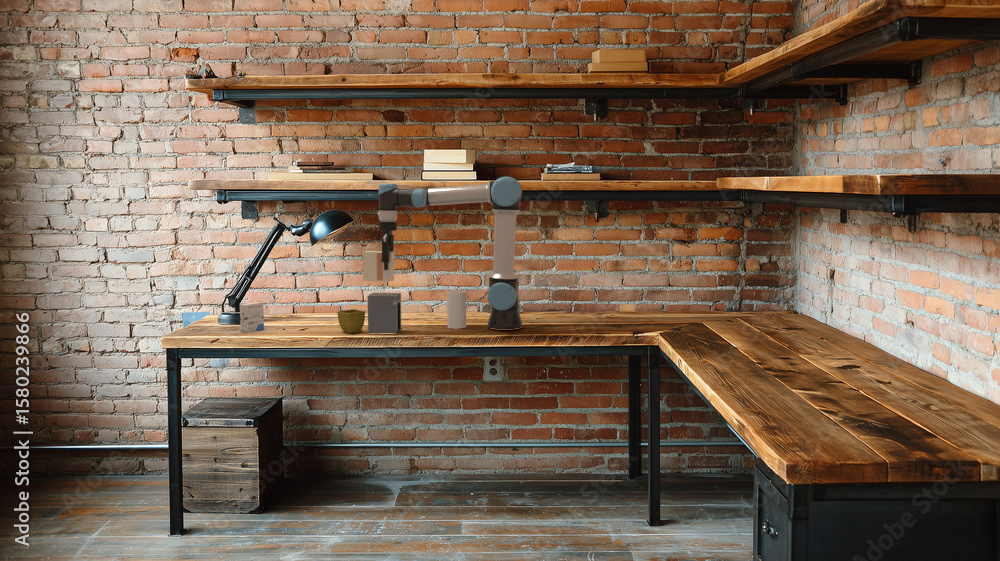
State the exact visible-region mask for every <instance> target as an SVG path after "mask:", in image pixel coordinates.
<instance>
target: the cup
mask: <svg viewBox="0 0 1000 561" xmlns="http://www.w3.org/2000/svg"><path fill="white" fill-rule="evenodd" d="M446 315H447V316H446V317H447V318H446V319H447V320H446V322H447V324H446V326H447V327H448V328H455V329H454V330H458V329H457V328H465V327H466V328H467V291H466V290H462V289H461V290H460V289H451V290H447V291H446ZM448 328H447V329H448ZM466 328H465V329H466Z"/></svg>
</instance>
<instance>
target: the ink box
mask: <svg viewBox="0 0 1000 561" xmlns="http://www.w3.org/2000/svg"><path fill="white" fill-rule="evenodd" d="M239 318H240V320H239V321H240V323H239V324H240V332H243V333H252V332H257V331H264V330H265V319H264V318H265V316H264V303H263V302H259V301H254V302H246V303H239Z"/></svg>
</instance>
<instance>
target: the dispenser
mask: <svg viewBox="0 0 1000 561" xmlns="http://www.w3.org/2000/svg"><path fill="white" fill-rule="evenodd" d="M398 330H401V331H402V293H401V292H372V293H370V294H368V295H367V331H368V332H367V334H368V333H396V334H395V335H398V334H399V333H398V332H399V331H398ZM397 333H398V334H397Z"/></svg>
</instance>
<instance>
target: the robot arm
mask: <svg viewBox="0 0 1000 561" xmlns="http://www.w3.org/2000/svg"><path fill="white" fill-rule="evenodd" d="M522 194H523V188H522V185H521V183H520V181H518V180H517V179H516V178H514V177H511V176H501V177H499V178H497V179H496V180H491V181H490V180H489V181H488V182H487V183H482V184H468V185H466V184H465V185H455V186H440V187H428V188H427V187H426V188H424V187H423V188H399V187H398V184H397V183H384V182H383V183H380V184H379V186H378V194H377V195H378V196H377V197H378V212H377V215H378V220H379V221H378V231H381V232H382V231H383V234H382V235H381V251H382V260H381V262H383V278H390V262H389V255H390V252H394V253H395V251H394V250H395V249H394V245H395V244H394V242H395V241H394V240H395V236H394V235H393V232H395V231H398V222H397V220H398V208H400V207H404V208H405V207H406V208H424V207H430V206H442V205H443V206H445V205H446V206H447V205H457V204H458V205H459V204H475V203H489V204H490V205H491V211H492V212H493V213H494V235H493V236H494V238H493V239H494V240H493V263H492V264H493V265H492V266H493V267H492V273H491V274H489V277H488V290H487V293H486V298H487V302H488V303H489V305H490V306H491V312H490V315H489V318H488V321H487V328H488V327H490V328H495V329H515V328H520V327H522V328H523V320H522V317H521V314H520V312H519V297H520V296H519V290H520V289H519V286H520V281H519V276H517V275H516V274H515V251H516V231H517V230H516V228H517V215H518V213H520V211H521V201H522V200H521V198H522ZM395 260H396V259H395V258H394V261H395Z"/></svg>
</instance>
